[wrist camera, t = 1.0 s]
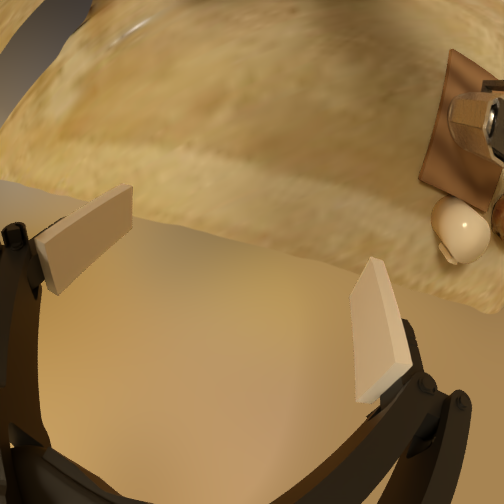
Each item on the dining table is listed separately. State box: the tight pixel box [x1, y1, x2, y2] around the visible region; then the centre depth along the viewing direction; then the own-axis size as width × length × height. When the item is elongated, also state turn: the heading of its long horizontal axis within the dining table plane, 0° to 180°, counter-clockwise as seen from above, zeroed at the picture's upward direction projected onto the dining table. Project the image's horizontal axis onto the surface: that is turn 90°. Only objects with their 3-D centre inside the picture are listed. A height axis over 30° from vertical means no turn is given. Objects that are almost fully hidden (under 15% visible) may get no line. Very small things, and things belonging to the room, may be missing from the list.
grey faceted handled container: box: [447, 80, 504, 169], centre depth 22 cm, size 13×10×12 cm
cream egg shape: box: [431, 195, 490, 265], centre depth 35 cm, size 9×8×9 cm
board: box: [418, 49, 504, 212], centre depth 29 cm, size 24×16×1 cm, turn 170°
